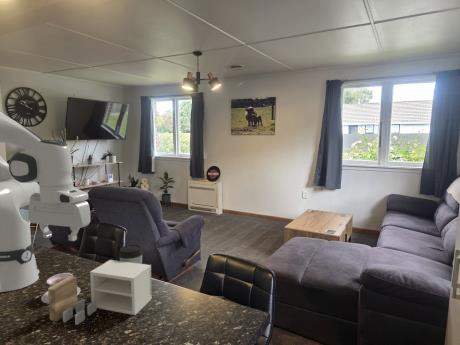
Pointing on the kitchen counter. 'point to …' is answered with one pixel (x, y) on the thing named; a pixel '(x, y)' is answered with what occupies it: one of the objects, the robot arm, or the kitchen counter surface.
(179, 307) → the kitchen counter surface
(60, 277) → the teacup
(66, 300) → the door
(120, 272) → the cabinet
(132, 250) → the coffee cup
